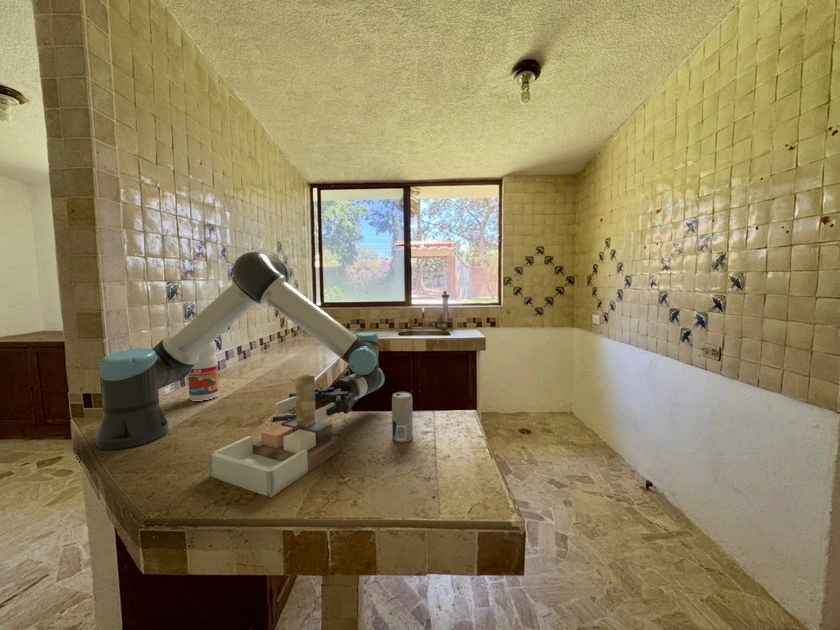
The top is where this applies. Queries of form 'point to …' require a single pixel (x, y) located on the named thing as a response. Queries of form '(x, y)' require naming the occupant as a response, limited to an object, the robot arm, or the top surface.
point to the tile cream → (299, 441)
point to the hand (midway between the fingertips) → (295, 412)
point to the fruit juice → (204, 375)
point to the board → (313, 454)
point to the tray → (255, 468)
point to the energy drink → (402, 417)
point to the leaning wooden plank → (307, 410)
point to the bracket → (286, 416)
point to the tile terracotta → (275, 436)
